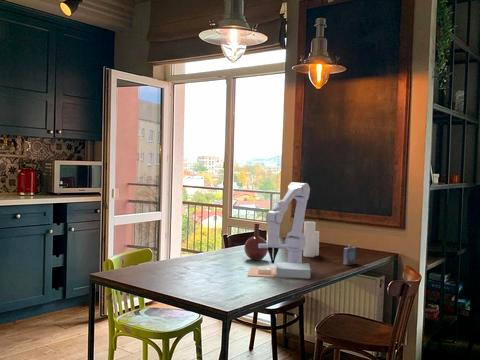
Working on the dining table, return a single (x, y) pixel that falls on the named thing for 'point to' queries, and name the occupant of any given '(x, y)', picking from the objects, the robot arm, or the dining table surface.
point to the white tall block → (311, 240)
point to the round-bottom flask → (255, 246)
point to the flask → (349, 255)
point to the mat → (254, 273)
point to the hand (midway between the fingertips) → (272, 263)
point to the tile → (264, 270)
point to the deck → (293, 270)
